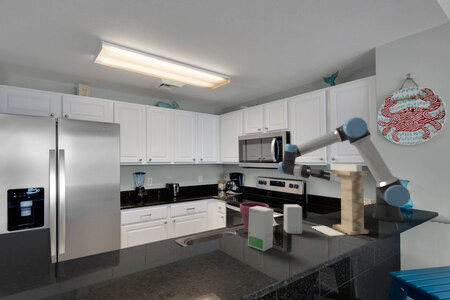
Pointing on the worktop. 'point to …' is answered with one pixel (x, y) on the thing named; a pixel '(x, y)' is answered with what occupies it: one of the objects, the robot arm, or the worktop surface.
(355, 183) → the stand
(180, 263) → the worktop surface
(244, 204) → the plant pot
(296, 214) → the supplement box
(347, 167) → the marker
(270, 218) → the skincare box
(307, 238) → the worktop surface
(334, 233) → the notepad
